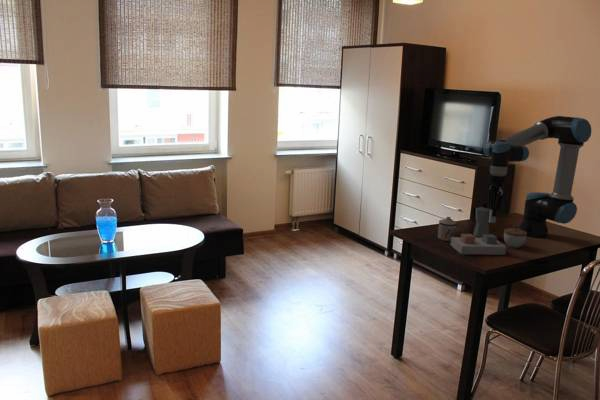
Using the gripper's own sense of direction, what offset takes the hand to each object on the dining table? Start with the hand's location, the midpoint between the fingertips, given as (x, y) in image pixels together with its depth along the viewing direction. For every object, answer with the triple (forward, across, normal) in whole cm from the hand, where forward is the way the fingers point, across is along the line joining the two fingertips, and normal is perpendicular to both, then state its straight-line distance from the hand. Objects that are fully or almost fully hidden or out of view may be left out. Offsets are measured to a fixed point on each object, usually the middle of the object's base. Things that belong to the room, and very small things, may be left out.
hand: (491, 222), depth 255 cm
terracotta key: (+11, 0, -11) cm, 16 cm away
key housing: (+14, 0, -6) cm, 15 cm away
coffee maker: (+14, -25, +6) cm, 29 cm away
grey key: (+11, 0, 0) cm, 11 cm away
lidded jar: (+14, -7, +16) cm, 23 cm away
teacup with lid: (+14, -18, -14) cm, 27 cm away
